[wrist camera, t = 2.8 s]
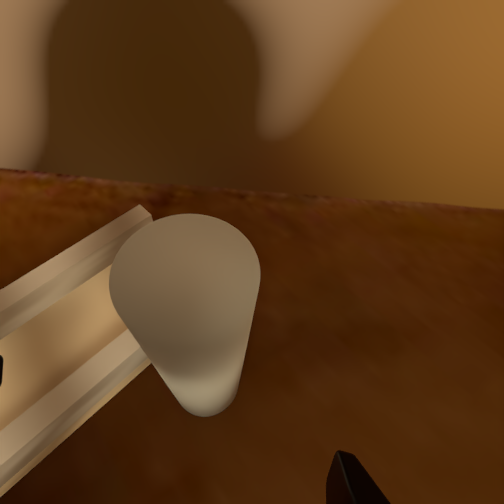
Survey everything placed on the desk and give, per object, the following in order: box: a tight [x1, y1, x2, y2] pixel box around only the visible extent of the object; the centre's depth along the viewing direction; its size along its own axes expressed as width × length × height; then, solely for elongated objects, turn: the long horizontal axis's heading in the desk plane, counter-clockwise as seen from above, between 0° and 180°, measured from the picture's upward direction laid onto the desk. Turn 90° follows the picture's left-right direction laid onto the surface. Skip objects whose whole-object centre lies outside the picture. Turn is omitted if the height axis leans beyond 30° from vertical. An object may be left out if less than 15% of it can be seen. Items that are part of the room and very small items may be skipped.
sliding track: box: [0, 204, 153, 497], centre depth 17 cm, size 20×8×3 cm, turn 136°
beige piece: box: [109, 214, 260, 417], centre depth 13 cm, size 4×4×12 cm
